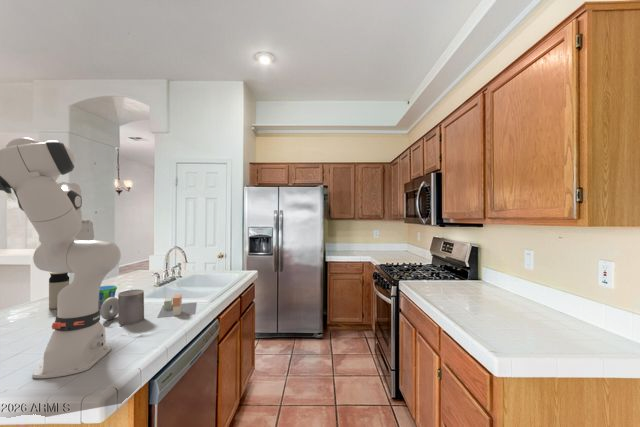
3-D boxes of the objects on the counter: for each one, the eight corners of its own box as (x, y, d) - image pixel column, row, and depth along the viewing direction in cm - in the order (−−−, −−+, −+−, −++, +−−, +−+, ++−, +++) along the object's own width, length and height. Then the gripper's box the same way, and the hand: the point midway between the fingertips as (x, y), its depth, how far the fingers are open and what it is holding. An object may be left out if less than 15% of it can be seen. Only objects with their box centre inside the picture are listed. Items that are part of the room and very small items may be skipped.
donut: (105, 323, 134) (105, 300, 134) (98, 323, 135) (98, 300, 135) (122, 315, 144) (122, 294, 144) (115, 315, 145) (115, 294, 145)
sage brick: (170, 309, 151) (171, 300, 151) (164, 309, 150) (164, 301, 150) (172, 305, 156) (172, 297, 156) (165, 306, 155) (165, 298, 155)
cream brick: (180, 314, 142) (180, 306, 142) (173, 315, 141) (173, 306, 141) (181, 311, 148) (181, 302, 148) (174, 311, 147) (174, 303, 147)
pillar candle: (128, 319, 140) (127, 286, 140) (149, 319, 139) (148, 286, 139) (112, 327, 130) (112, 292, 130) (134, 327, 130) (134, 292, 129)
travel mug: (64, 308, 155) (64, 272, 155) (45, 309, 153) (45, 273, 153) (72, 304, 162) (72, 270, 162) (54, 305, 160) (54, 270, 160)
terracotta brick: (179, 306, 142) (179, 297, 142) (172, 306, 141) (172, 298, 141) (181, 302, 148) (181, 294, 148) (174, 303, 147) (174, 294, 147)
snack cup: (92, 305, 160) (92, 286, 160) (116, 302, 166) (116, 283, 166) (90, 313, 147) (90, 292, 147) (117, 309, 153) (117, 289, 153)
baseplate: (195, 316, 144) (195, 314, 144) (156, 320, 138) (156, 317, 138) (196, 304, 162) (196, 302, 162) (162, 307, 157) (162, 305, 157)
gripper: (87, 219, 143) (87, 249, 143) (36, 221, 124) (36, 255, 124) (97, 220, 142) (97, 250, 142) (47, 221, 122) (47, 256, 122)
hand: (68, 252), depth 133 cm, fingers open, 8 cm apart
